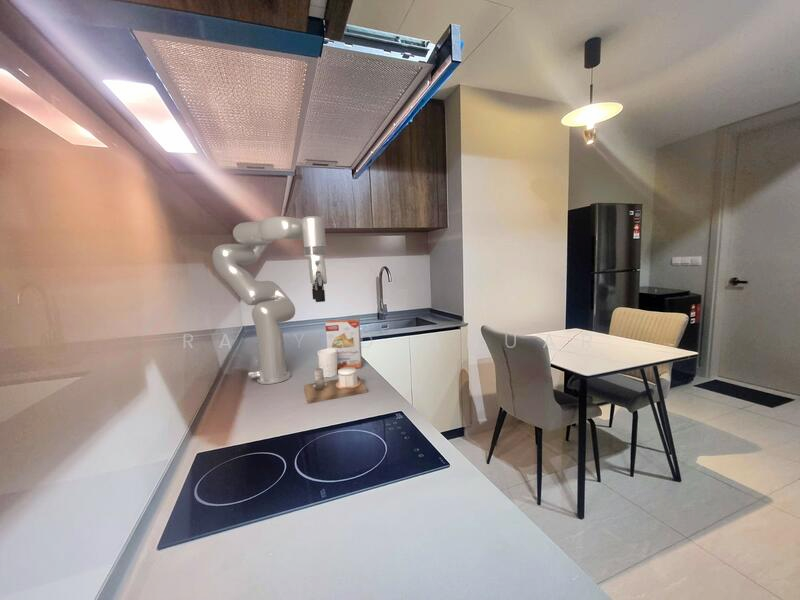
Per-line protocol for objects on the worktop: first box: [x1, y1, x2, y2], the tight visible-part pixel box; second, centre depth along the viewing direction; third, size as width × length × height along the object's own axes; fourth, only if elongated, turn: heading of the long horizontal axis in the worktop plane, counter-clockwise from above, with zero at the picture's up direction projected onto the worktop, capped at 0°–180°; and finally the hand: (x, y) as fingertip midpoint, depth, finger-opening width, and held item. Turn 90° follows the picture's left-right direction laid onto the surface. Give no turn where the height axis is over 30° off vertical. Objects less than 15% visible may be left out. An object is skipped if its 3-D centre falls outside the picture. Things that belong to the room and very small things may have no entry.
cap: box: [337, 367, 358, 387], centre depth 115 cm, size 7×7×5 cm
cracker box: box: [325, 318, 363, 370], centre depth 138 cm, size 14×6×21 cm, turn 92°
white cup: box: [316, 348, 338, 379], centre depth 130 cm, size 8×8×10 cm
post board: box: [303, 367, 368, 405], centre depth 113 cm, size 20×14×8 cm
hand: (318, 300), depth 115 cm, fingers open, 9 cm apart
